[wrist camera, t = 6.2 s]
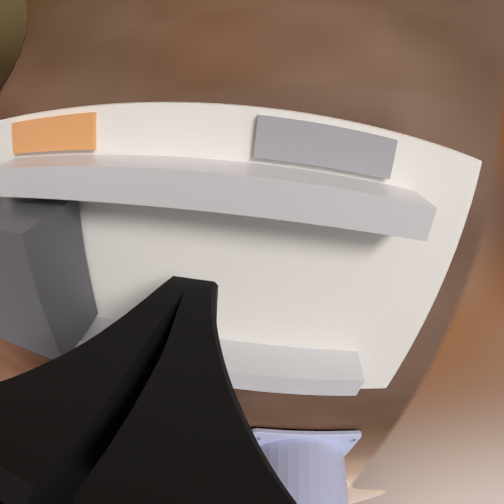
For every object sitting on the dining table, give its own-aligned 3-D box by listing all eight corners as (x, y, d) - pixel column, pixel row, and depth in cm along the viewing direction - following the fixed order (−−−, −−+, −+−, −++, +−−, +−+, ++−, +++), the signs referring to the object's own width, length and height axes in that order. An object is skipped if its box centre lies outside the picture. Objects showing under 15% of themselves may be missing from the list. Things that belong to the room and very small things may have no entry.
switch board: (377, 359, 14) (393, 413, 11) (57, 313, 15) (25, 355, 11) (453, 149, 9) (510, 174, 6) (23, 114, 9) (-35, 129, 6)
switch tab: (97, 312, 11) (64, 364, 9) (30, 295, 11) (-5, 335, 9) (77, 196, 9) (21, 234, 6) (6, 193, 9) (-46, 224, 6)
